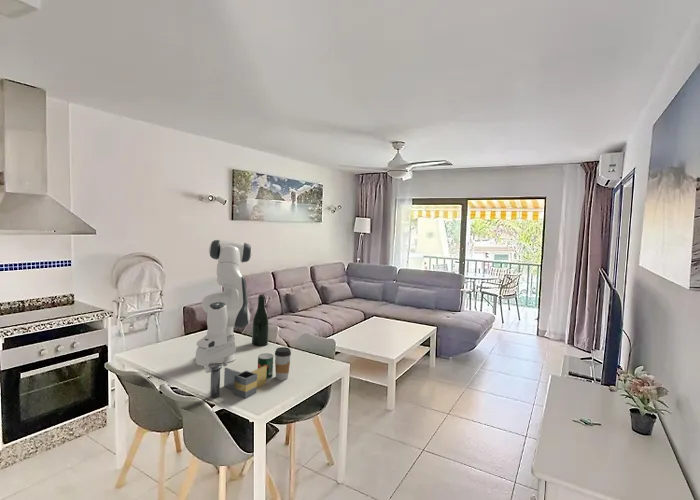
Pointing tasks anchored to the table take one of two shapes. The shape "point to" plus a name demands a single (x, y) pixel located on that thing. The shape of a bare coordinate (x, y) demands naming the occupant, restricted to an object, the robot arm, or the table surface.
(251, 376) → the hinge leaves
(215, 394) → the hinge pin
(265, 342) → the green wine bottle
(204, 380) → the table surface
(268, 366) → the canned tomato
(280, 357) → the coffee cup
